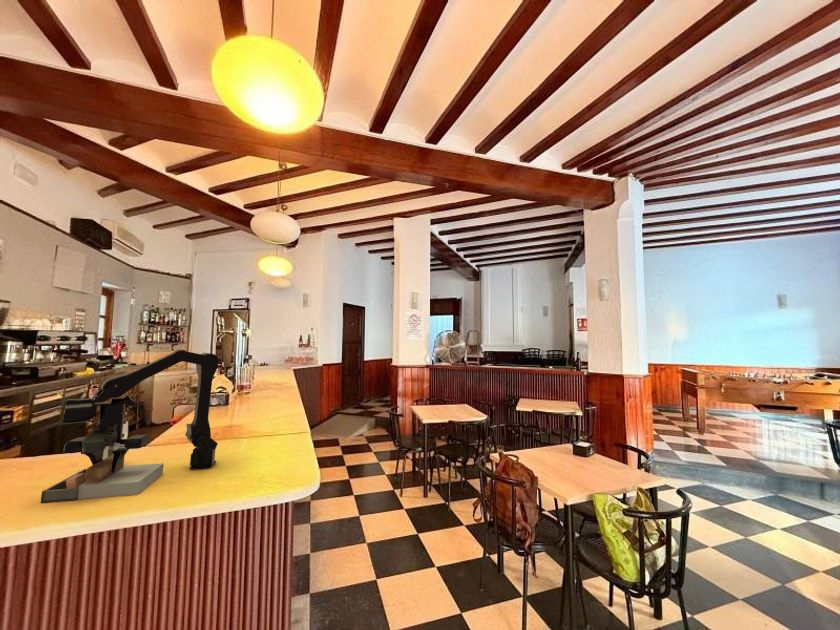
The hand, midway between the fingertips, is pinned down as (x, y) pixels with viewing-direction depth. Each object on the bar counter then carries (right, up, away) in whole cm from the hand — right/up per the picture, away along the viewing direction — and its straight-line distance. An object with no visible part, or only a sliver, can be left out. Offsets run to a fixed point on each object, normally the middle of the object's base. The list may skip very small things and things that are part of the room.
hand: (105, 472), depth 99 cm
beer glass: (-12, -5, +14) cm, 19 cm away
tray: (-6, -4, -2) cm, 7 cm away
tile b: (-3, -1, -4) cm, 5 cm away
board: (+5, -5, +1) cm, 6 cm away
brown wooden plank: (0, -1, 0) cm, 1 cm away
